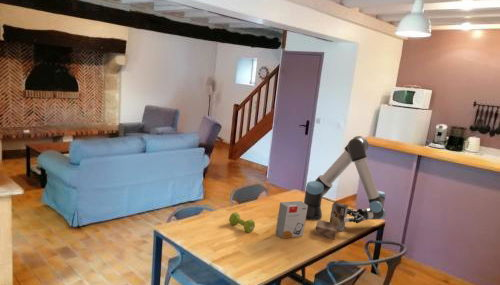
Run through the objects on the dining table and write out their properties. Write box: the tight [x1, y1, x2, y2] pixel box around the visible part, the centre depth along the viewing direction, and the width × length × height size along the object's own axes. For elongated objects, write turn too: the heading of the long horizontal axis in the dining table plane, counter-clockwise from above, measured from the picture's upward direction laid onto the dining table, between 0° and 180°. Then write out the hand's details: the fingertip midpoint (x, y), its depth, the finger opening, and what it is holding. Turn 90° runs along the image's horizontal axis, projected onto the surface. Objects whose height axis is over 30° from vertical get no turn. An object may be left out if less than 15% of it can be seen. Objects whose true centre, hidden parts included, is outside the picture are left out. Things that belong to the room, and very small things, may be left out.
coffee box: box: [329, 201, 349, 232], centre depth 230 cm, size 9×6×16 cm
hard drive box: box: [275, 200, 308, 239], centre depth 212 cm, size 16×8×20 cm, turn 117°
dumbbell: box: [228, 212, 256, 233], centre depth 215 cm, size 16×8×7 cm, turn 47°
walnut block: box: [314, 219, 337, 241], centre depth 220 cm, size 12×12×6 cm
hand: (338, 215), depth 229 cm, fingers open, 13 cm apart
